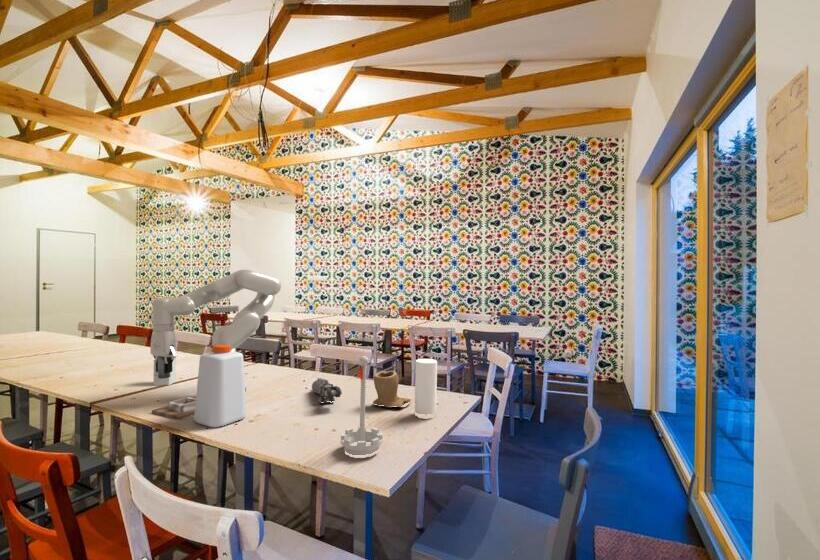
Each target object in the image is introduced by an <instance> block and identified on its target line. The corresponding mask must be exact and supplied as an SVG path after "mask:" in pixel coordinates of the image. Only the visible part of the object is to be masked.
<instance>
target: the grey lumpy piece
mask: <svg viewBox="0 0 820 560" xmlns="http://www.w3.org/2000/svg"><path fill="white" fill-rule="evenodd" d="M311 390H312V391H313V392H314V391H315V392H314V393H316V394H318V395H319V398H318V403H319V402H320V403H321V402H325V403H328V402H327V401H331V402H332V401H335V402H336V398H340V397H341V395H342V394H343V390H342V389H341V387H339V386H338V385H334V384H333V383H330V381H329V380H328V379H326V378H322V377H317V378H316V380H315V381H313V383H312V384H311ZM320 403H319V404H320Z"/></svg>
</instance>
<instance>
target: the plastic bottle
mask: <svg viewBox="0 0 820 560" xmlns="http://www.w3.org/2000/svg"><path fill="white" fill-rule="evenodd" d="M244 361H245V360H244V354H243V353H242V352H239V351H236V352H235V351H231V346H230V345H226V344H223V345H215V346H214V347H213V346H212V351H210V352H206V353H205V352H204V353H202V354H201V355H200V356H199V365H198V375H197V382H196V383H197V385H196V394H195V395H196V396H195V398H196V403H195V413H194V415H193V420H194V422H195V423H197V424H199V425H202V426H205V427H208V428H221V427H220V426H222V427H225V426H228V425H230V423H231V424H234V423H236V422H235V421H237V422H238V420H240V421H242V420H244V419H245V418H246V416H247V405H246V403H247V402H246V400H247V399H246V391H245V387H246V383H245V366H244V364H245V363H244ZM243 418H244V419H243ZM241 419H242V420H241ZM233 422H234V423H233ZM227 424H228V425H227ZM224 425H225V426H224Z"/></svg>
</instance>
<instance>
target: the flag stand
mask: <svg viewBox="0 0 820 560" xmlns="http://www.w3.org/2000/svg"><path fill="white" fill-rule="evenodd" d="M358 362H359V364H360V369H359V371H358V373H357V375H356V377H357V378H359V379H360V396H359V397H360V406H359V407H360V408H359V426H358V429H357V430H356V429H355V430H354V429H353V428H352V427H350V428H347V429H345V430H344V432H341V434H340V444H341V446H343V451H344V450H345V451H346V452H347V453H349V454H352V455H366V454H371V453H373V452H375V451H377V450H378V449H379V450H380V446H382V444H383V437H384V436H383V435H384V434H383V432H380V429H378V428H376V427H372V428H371V430H368V429H367V426H365V425H366V380H367V378H366V377H367V364H369V358H368V356H366V355H363V356H360V358H359V360H358ZM354 442H357V445H355V444H352V443H354ZM366 442H371V444H366Z"/></svg>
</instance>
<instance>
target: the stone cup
mask: <svg viewBox="0 0 820 560" xmlns="http://www.w3.org/2000/svg"><path fill="white" fill-rule="evenodd" d="M373 384H374V388H375V391H376V394H377V398H376V399H374V400H373V401H372V404H373V405H374V404H377V405H384V406H397V407H401V406H402V405H404V404H405V403H408V402H410V401H411V398H405V397H399V396H398V388H399V375H398V373H397V372H396V371H394V370H388V371H385V370H382V371H379V372H376V373H375V374H374V376H373ZM410 403H411V402H410Z"/></svg>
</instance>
